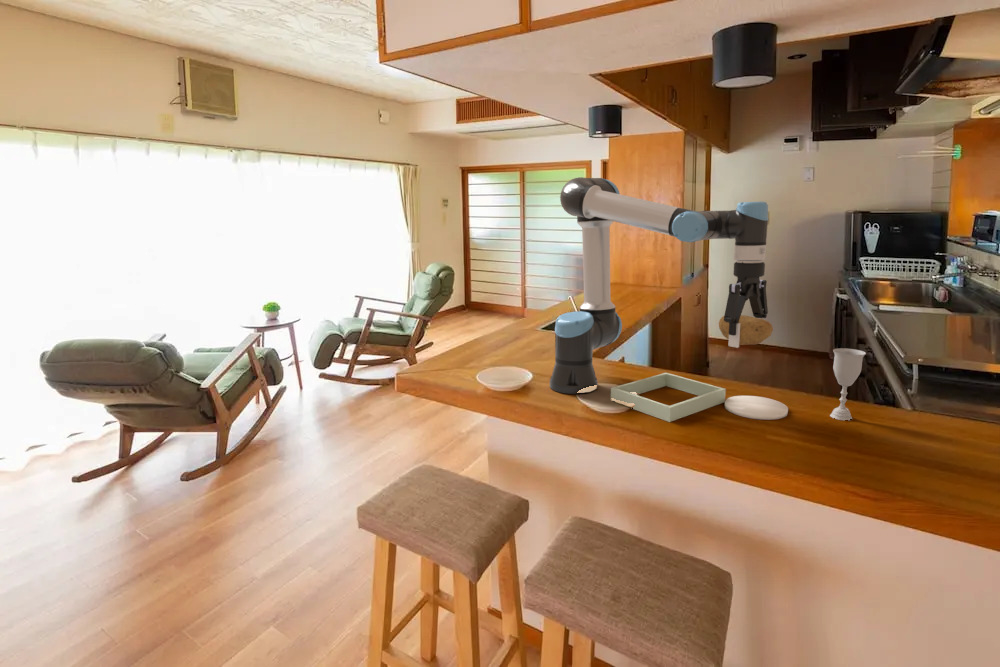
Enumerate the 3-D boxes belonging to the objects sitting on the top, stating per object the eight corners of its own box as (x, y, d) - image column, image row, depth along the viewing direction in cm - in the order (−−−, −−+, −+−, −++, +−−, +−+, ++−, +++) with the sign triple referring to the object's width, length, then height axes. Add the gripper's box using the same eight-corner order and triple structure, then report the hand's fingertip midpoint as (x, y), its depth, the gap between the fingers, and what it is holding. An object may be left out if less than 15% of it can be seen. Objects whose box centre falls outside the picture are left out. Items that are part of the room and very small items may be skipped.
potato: (761, 351, 142) (763, 321, 140) (711, 343, 152) (712, 315, 151) (778, 345, 148) (781, 316, 146) (729, 337, 158) (730, 310, 157)
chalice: (853, 413, 148) (861, 349, 144) (860, 423, 142) (869, 355, 138) (822, 411, 151) (830, 347, 147) (828, 420, 144) (836, 353, 140)
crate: (610, 400, 162) (610, 388, 161) (665, 384, 176) (665, 372, 175) (669, 422, 145) (670, 407, 144) (724, 402, 159) (725, 388, 158)
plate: (712, 407, 155) (713, 403, 155) (744, 395, 164) (745, 392, 164) (767, 424, 142) (768, 420, 142) (799, 410, 151) (799, 406, 151)
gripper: (738, 265, 136) (733, 352, 141) (785, 259, 148) (780, 339, 153) (711, 263, 142) (707, 347, 147) (759, 258, 154) (754, 335, 159)
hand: (744, 343), depth 150 cm, fingers closed on potato, 9 cm apart
